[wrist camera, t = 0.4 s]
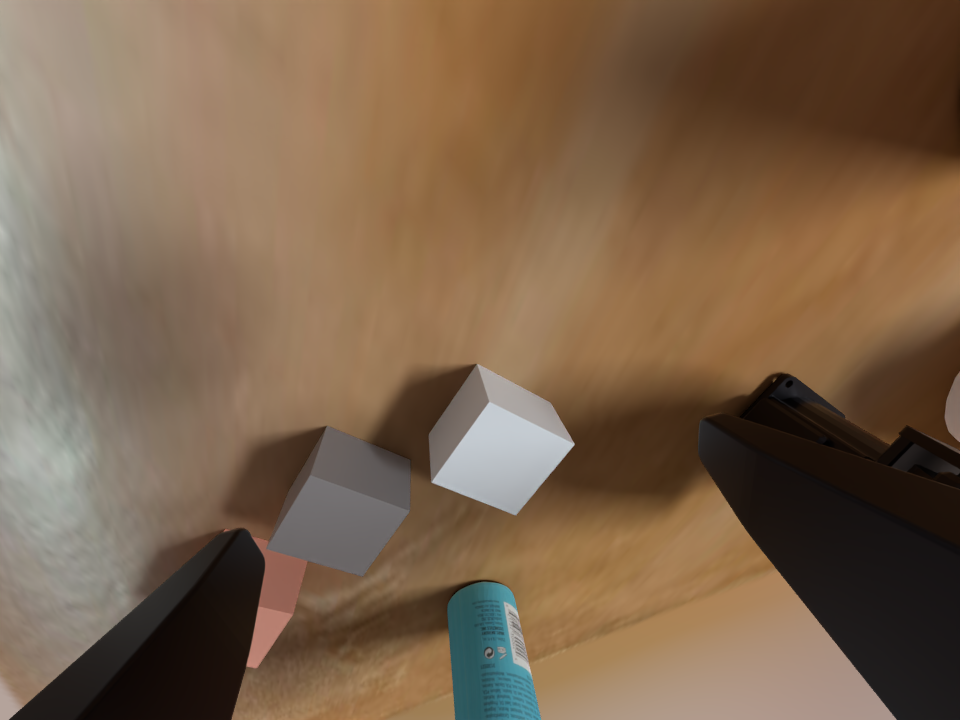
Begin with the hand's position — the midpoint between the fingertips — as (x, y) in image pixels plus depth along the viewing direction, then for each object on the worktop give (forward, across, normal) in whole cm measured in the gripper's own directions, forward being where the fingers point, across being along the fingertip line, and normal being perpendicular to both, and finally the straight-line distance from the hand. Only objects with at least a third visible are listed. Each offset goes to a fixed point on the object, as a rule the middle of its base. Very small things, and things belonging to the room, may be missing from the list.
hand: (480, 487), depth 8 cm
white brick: (+13, -1, +7) cm, 15 cm away
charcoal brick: (+13, +8, +9) cm, 17 cm away
